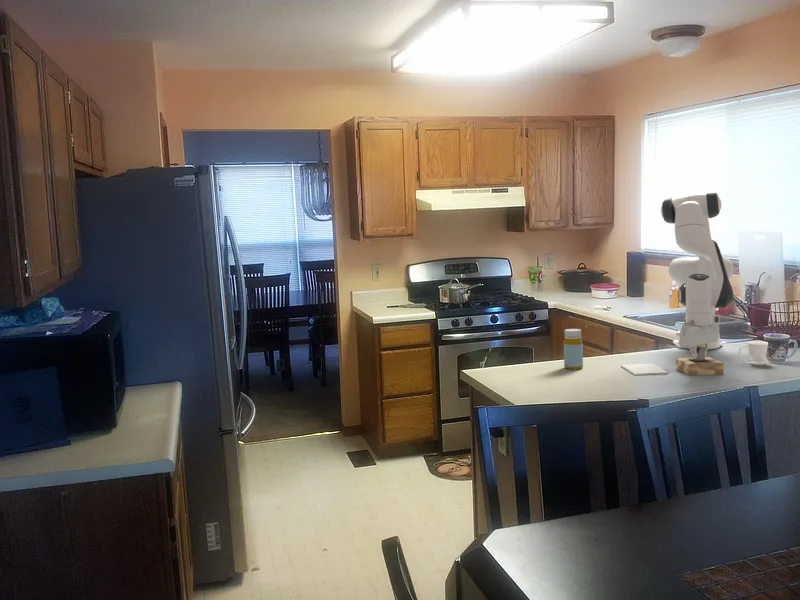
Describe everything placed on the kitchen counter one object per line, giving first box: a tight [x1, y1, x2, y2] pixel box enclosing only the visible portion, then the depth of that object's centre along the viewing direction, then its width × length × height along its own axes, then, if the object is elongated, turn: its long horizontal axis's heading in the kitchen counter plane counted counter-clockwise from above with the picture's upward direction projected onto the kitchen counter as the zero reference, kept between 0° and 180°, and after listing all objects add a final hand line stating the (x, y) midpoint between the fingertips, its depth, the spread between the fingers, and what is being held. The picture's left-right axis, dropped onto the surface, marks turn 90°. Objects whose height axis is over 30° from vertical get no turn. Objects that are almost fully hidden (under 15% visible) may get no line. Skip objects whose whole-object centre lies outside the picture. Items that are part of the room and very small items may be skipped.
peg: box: [693, 344, 706, 363], centre depth 244 cm, size 4×4×10 cm
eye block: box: [675, 356, 724, 377], centre depth 245 cm, size 12×12×4 cm
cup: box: [738, 340, 769, 366], centre depth 253 cm, size 7×10×8 cm
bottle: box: [563, 328, 584, 370], centre depth 260 cm, size 7×7×15 cm
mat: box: [620, 363, 669, 376], centre depth 251 cm, size 16×12×1 cm
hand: (699, 357), depth 244 cm, fingers closed on peg, 4 cm apart
